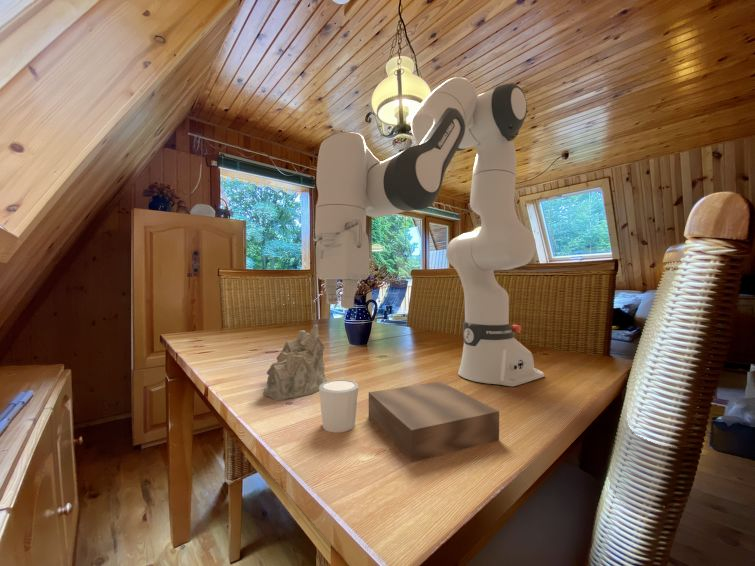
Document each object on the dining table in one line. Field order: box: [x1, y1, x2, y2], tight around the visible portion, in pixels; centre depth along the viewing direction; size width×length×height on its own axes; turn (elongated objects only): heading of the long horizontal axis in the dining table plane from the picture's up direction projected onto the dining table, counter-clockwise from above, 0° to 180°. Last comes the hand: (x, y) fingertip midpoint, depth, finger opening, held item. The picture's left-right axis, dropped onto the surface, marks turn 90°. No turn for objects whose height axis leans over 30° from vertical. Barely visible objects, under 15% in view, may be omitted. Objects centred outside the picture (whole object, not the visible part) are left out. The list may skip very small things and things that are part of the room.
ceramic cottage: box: [263, 324, 327, 401], centre depth 75 cm, size 16×16×15 cm
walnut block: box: [368, 381, 500, 463], centre depth 54 cm, size 16×16×5 cm
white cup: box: [318, 379, 359, 433], centre depth 55 cm, size 7×7×7 cm
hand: (339, 305), depth 55 cm, fingers open, 8 cm apart
